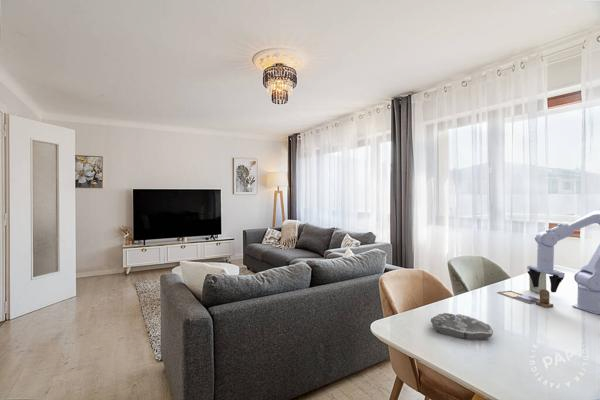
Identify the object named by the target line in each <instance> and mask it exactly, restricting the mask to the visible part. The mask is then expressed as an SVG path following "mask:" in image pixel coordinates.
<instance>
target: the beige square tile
mask: <svg viewBox="0 0 600 400" xmlns="http://www.w3.org/2000/svg"><path fill="white" fill-rule="evenodd" d="M496 293H497V294H499V295H502V296H505V297H508V298H510V299H515V296H521V295H523V294H522V293H519V292H517V291H514V290H513V291H512V290H506V291H505V290H503V291H497V292H496ZM515 300H516V299H515Z"/></svg>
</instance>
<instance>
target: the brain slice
mask: <svg viewBox="0 0 600 400" xmlns="http://www.w3.org/2000/svg"><path fill="white" fill-rule="evenodd" d="M430 323H431V324H432V327H433V328H434V329H435V331H437V332H438V333H440V334H442V335H444V336H445V335H446V336H450V337H453V338H457V339H465V340H469V341H473V340H474V341H475V340H477V341H486V340H488V339H489V338H491V337H492V335H493V333H494V330H493V329H492V327H491V325H489V323H488V324H487V323H485V322H483V321H482V320H480V319H476V318H474V317H472V316H470V315H469V316H468V315H464V314H459V313H457V314H453V313H447V312H443V313H439V314H437V315H435V316H434V317H431V318H430Z"/></svg>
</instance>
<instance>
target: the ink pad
mask: <svg viewBox="0 0 600 400" xmlns="http://www.w3.org/2000/svg"><path fill="white" fill-rule="evenodd" d="M515 300H518V301H522V302H524V303H527V304H536V302H537V301H540V298H537V297H534V296H532V295H529V294H528V295H527V294H522V295H521V296H515Z"/></svg>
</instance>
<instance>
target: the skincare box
mask: <svg viewBox="0 0 600 400" xmlns="http://www.w3.org/2000/svg"><path fill="white" fill-rule="evenodd" d="M528 276H529V279H528V280H529V284H528V285H529V290H530V291H532V292H534V293H537V294H540V290H542V289H546V290H547V274H546V273H542V272H541V273H540V277H539V285H538V287H533V283H532V280H531V277H530V275H529V274H528Z"/></svg>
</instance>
